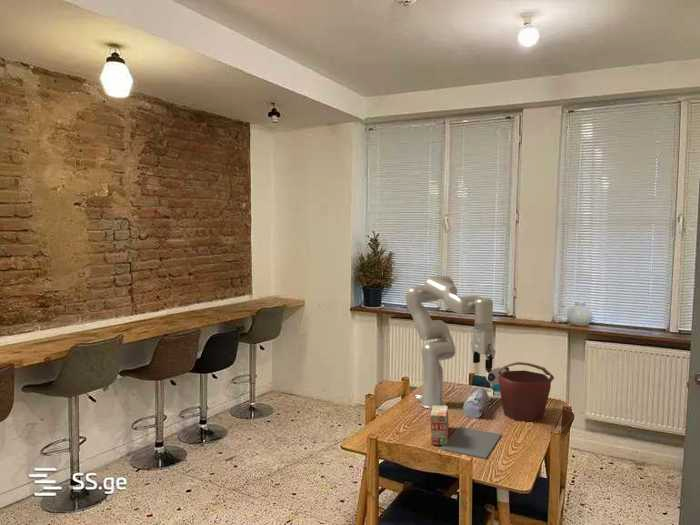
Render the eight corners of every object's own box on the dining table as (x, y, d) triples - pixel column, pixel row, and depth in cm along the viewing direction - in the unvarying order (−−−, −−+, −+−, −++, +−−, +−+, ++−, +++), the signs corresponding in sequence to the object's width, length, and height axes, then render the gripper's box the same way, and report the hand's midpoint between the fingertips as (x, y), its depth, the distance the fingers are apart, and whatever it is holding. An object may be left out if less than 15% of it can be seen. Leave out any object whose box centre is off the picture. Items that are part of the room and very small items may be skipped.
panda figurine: (488, 398, 268) (489, 369, 267) (482, 391, 279) (483, 364, 278) (511, 398, 268) (512, 369, 267) (505, 391, 279) (505, 364, 278)
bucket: (559, 417, 241) (561, 363, 240) (538, 430, 225) (539, 373, 224) (510, 404, 258) (511, 354, 257) (487, 415, 243) (488, 362, 241)
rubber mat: (440, 449, 205) (440, 448, 205) (459, 427, 228) (459, 426, 228) (485, 459, 196) (485, 457, 196) (501, 435, 219) (501, 434, 219)
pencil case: (481, 420, 237) (482, 399, 236) (462, 417, 240) (462, 397, 240) (488, 406, 256) (488, 387, 256) (470, 403, 260) (470, 385, 259)
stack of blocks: (434, 426, 229) (433, 398, 229) (448, 426, 228) (447, 398, 228) (431, 445, 209) (430, 414, 208) (447, 445, 207) (446, 415, 207)
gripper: (465, 323, 233) (464, 361, 235) (487, 331, 217) (486, 371, 218) (480, 322, 236) (479, 360, 237) (502, 330, 219) (501, 370, 220)
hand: (482, 365), depth 227 cm, fingers open, 9 cm apart
